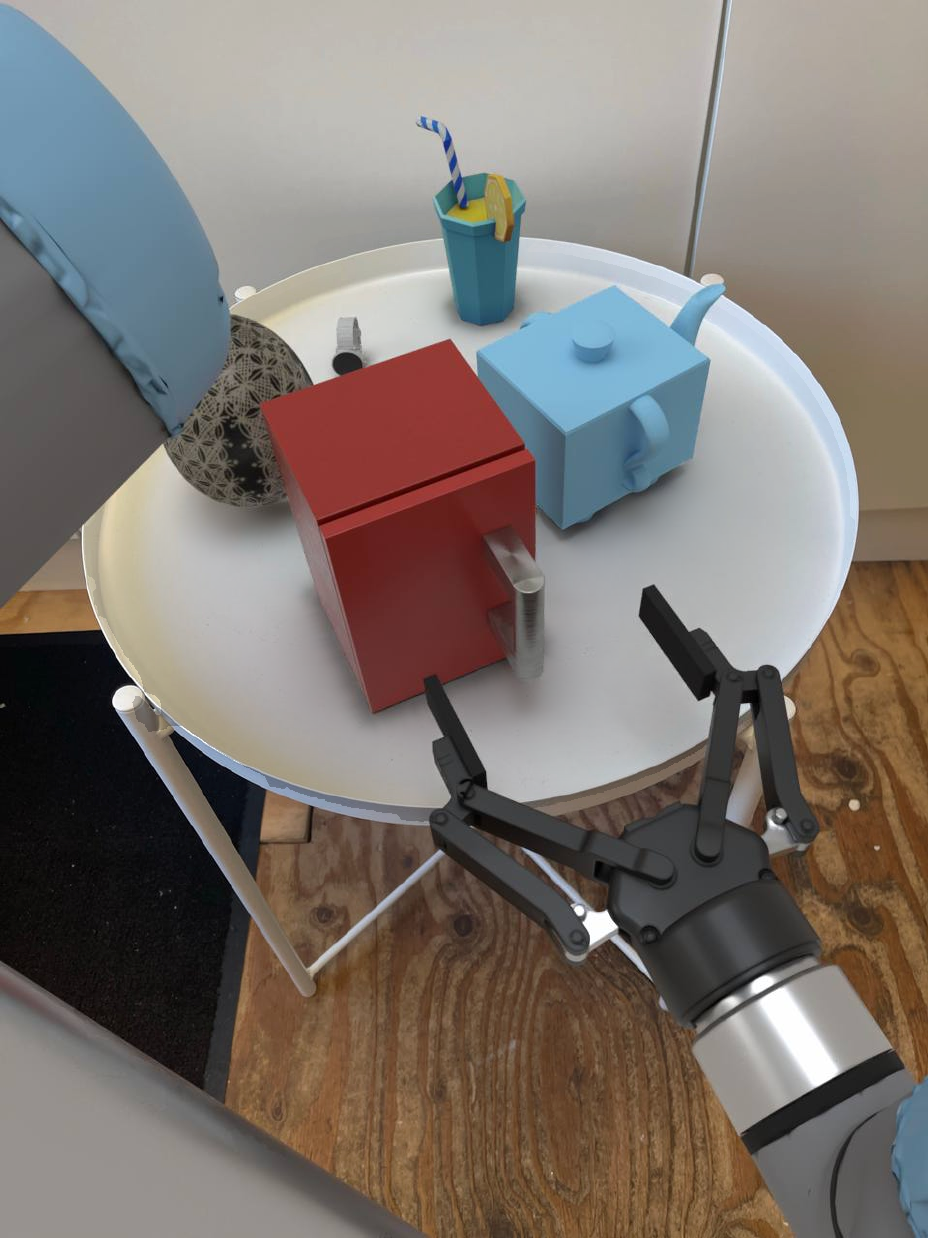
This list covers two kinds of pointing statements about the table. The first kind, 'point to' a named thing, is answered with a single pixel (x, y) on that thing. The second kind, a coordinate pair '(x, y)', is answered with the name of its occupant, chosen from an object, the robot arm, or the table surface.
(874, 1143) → the robot arm
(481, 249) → the cup
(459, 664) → the cabinet door
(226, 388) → the decorative egg
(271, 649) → the table surface
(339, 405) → the red cabinet body
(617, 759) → the table surface
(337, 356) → the wristwatch
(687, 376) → the teapot
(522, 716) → the table surface
